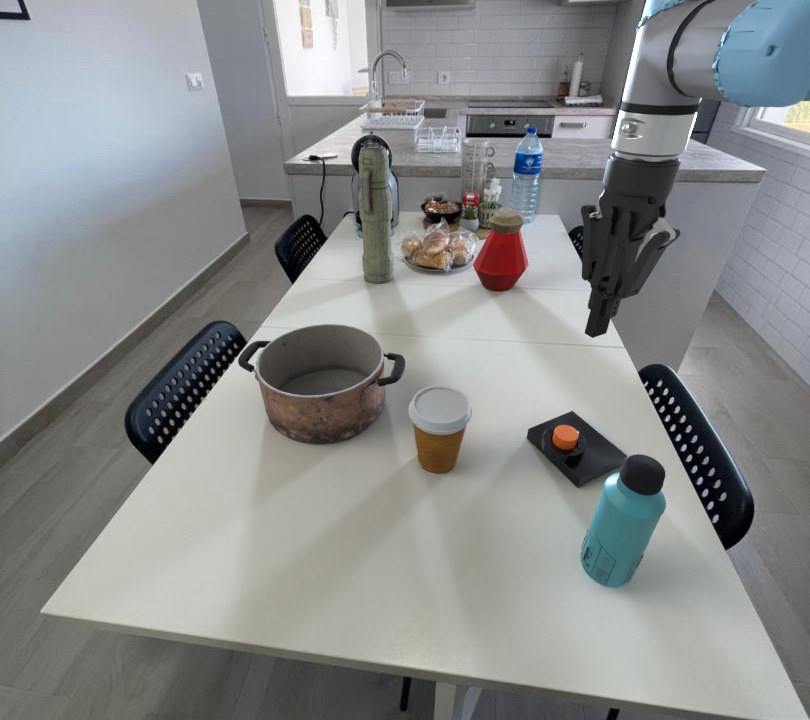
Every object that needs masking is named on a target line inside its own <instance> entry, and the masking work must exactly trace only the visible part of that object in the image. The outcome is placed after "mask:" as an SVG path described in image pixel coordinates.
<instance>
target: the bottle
mask: <svg viewBox="0 0 810 720" xmlns="http://www.w3.org/2000/svg"><path fill="white" fill-rule="evenodd" d="M525 222H526V218H525V217H524V216H523V215H522V214H521V213H520V212H519V211H517V210H513V209H503V210H499V211H497V212H495V213H494V214H493V215H491V217H490V218H488V224H489V227H490V231H489V234H488V235H487V237H486V239H485V240H484V242H483V244H482V246H481V249H480V250H479V252H478V254H477V256H476V258H475V259H474V261H473V263H472V266H473V269H474V270H475V272H476V275H477V277H478V280H479V281H480V283H481V285H482V286H483V288H484V289H486V290H489V291H493V292H502V291H509V290H510V289H512V288H514V286H515V285H516V284H517V283H518V281H519V280H520V278H521V277H522V275H523V274H524V273H525V271H526V270H527V268H528V266H529V260H528V255H527V252H526V247H525V244H524V239H523V235H522V231H521V229H522V227H523V226H524V223H525Z"/></svg>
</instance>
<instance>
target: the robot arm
mask: <svg viewBox="0 0 810 720" xmlns="http://www.w3.org/2000/svg"><path fill="white" fill-rule="evenodd" d="M621 98H622V100H621V104H620V108H619V113H618V117H617V119H616V125H615V130H614V134H613V139H612V142H611V147H610V148H611V149H612V150H613V151H614V152H613V153H611V154H610V155H609V156H608V157H607V162H606V166H605V170H604V174H603V179H602V184H601V185H602V187H603V188H604V189H603V190H602V191H603V192H602V193H601V194H600V195H599V198H598V200H597V201H596V202H593V203H589V204H585V205H582V206H581V208H580V214H581V219H582V222H583V229H582V230H583V233H582V255H581V256H582V257H581V258H582V260H581V278H582V280H583V281H587V282H588V283H589V284H590V288H591V291H590V294H589V299H588V302H587V309H588V310H589V314H588V318H587V322H586V326H585V329H584V334H585V335H587V336H588V337H590V338H591V339H594V338H596V337H600V336H602V335H605V334H607V332H608V329H609V325H610V322H611V319H612V318H614V317H616V316H617V315H618V311H619V307H620V305H621V302H622V300H624V299H627V298H630V297H635V296H637V295H639V293H640V292H641V291H642V288H643V287H644V286H645V284H646V282H647V281H648V279H649V277H650V275H651V273H653V271H654V269H655V267H656V266H657V264H658V263H659V261H660V259H661V258H662V256H663V254H664V253H665V251H666V249H667V248H668V247H669V246H670V245H671V244H673V243H674V242H675V241H676V240H677V239H679V238H680V236H681V230H680V229H679V228H677V227H675V228H672V226H670V224H669V223H668V221H667V220H666V219H665V218H666V215H667V207H666V204H667V203H666V202H667V199H668V197H669V196H670V194H671V193H672V191H673V189H674V186H675V182H676V179H677V177H678V173H679V170H680V167H681V164H682V162H681V160H680V158H679V157H678V156H680V155H682V154H684V153H685V152H686V149H687V146H688V143H689V140H690V137H691V134H692V131H693V128H694V125H695V122H696V118H697V115H698V112H699V110H700V105H701V101H702V99H707V100H713V101H719V102H725V103H731V104H736V105H737V106H739V107H742V108H747V109H751V108H785V107H790V106H794V105H797V104H799V103H800V102H810V0H646V1H645V4H644V8H643V12H642V16H641V19H640V21H639V23H638V25H637V28H636V35H635V41H634V44H633V48H632V54H631V58H630V63H629V67H628V72H627V76H626V80H625V85H624V90H623V94H622V97H621ZM650 231H651V233H650V234H649V235H648V241H647V242H646V243H645V245H644V246H643V247H642V249H641V251H640V252H639V250H640V247H641V246H642V245H643V243H644V242H645V239H646V235H647V234H648V233H649V232H650ZM638 253H639V255H638Z"/></svg>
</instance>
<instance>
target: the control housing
mask: <svg viewBox="0 0 810 720" xmlns="http://www.w3.org/2000/svg"><path fill="white" fill-rule="evenodd" d="M560 425H567V426H571V427H573V428H574V429H575V430H576V431H577V432H578V439H577V443H576V446H575V447H574V448H573V449H571V450H563V449H561V448H558V447H557V446H555V445H554V443H553V441H552V439H553V435H554V431H555V428H556V427H557V426H560ZM526 440H528V441H529V443H531V444H532V445H533V446H534V447H535V449H537V450H538V451H539V452H540V453H541V454H542V455H543V456H544V457H545V458H546V459H547V460H548V461H549V462H550V463H551V464H552V465H553V466H554V467H555V468H556V469H557V470H558V471H559V472H560V473H561V474H562V475H563V476H564V477H565V478H566V479H567V480H568V481H569V482H570V483H572V485H574V487H575V488H577V489H578V488H581V487H583V486H584V485H586V484H588V483H590V482H592V481H594V480H597V479H598V478H601V477H603V476H604V475H607V474H608V473H611V472H613V471H614V470H617V469H618V468H621V467H622V466H623V465H624V463H625V461H626V459H627V458H628V455H627V454H626V453H625V452H624V451H622V450H621V449H620V448H618V447H617V446H616V445H615V444H614V443H612V442H611V441H610V440H609V439H608V438H607V437H605V436H604V435H603V434H602V433H600V432H599V430H597V429H596V428H594V427H593V426H592V425H591V424H590V423H588V422H587V421H586V420H584V418H582V417H581V416H579V414H578V413H576V412H575V411H574V410H571V411H568V412H566V413H563V414H561V415H559V416H555V417H554V418H551V419H548V420H546V421H544V422H541V423H539V424H536V425H534V426H531V427H529V428H528V429H527V434H526Z"/></svg>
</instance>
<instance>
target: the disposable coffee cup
mask: <svg viewBox="0 0 810 720" xmlns="http://www.w3.org/2000/svg"><path fill="white" fill-rule="evenodd" d="M407 412H408V416H409V418H410V420H411V421H412V427H413V434H414V439H415V446H416V452H417V458H418V463H419V465H420V466H421V467H422V468H423V469H424V470H425V471H426V472H429V473H433V474H445V473H447V472H450V471H452V470H453V469H454V468H455V466H456V465H457V461H458V457H459V454H460V450H461V446H462V442H463V439H464V435H465V432H466V429H467V425H468V423H469V422H470V421H471V418H472V414H473V410H472V407H471V404H470V401H469V399H468V398H467V396H466V395H465V394H464V393H463V392H462V391H460V390H459V389H456V388H454V387H451V386H447V385H440V384H439V385H431V386H426V387H424V388H421V389H420V390H418V391H417V392H416V393H415V394H414V395H413V397H412V399H411V401H410V402H409V405H408V411H407Z"/></svg>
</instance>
